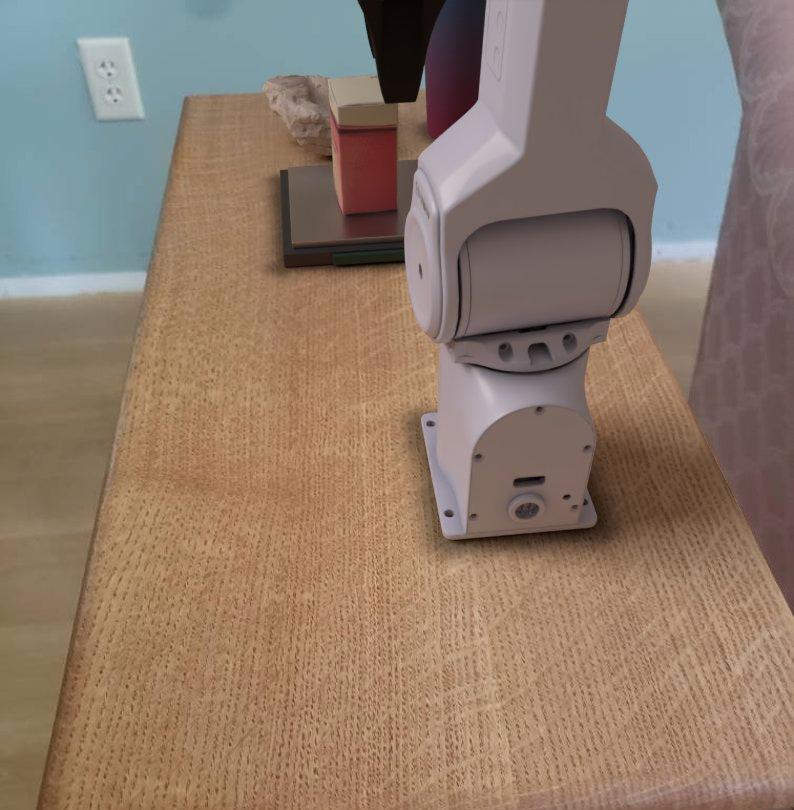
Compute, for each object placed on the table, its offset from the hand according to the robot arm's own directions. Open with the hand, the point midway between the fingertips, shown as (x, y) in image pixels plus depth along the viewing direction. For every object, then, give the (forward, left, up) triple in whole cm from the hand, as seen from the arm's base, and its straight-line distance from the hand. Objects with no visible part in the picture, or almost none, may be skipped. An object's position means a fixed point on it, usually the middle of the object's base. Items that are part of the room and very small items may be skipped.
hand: (393, 77), depth 57 cm
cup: (+15, -7, -10) cm, 20 cm away
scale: (+1, +2, -10) cm, 11 cm away
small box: (+1, +2, -9) cm, 9 cm away
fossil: (+15, +5, -10) cm, 19 cm away
